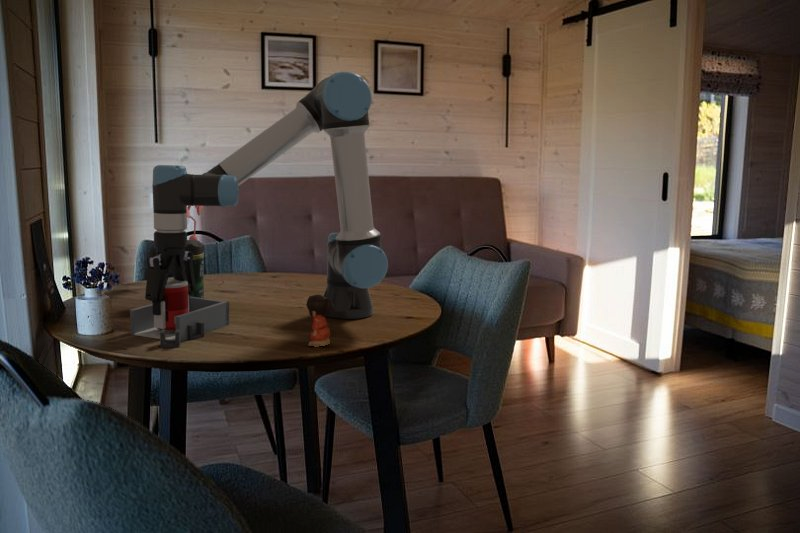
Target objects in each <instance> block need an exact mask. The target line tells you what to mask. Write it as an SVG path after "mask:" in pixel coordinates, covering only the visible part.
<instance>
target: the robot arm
mask: <svg viewBox="0 0 800 533" xmlns="http://www.w3.org/2000/svg"><path fill="white" fill-rule="evenodd" d="M372 98H373V97H372V91H371V88H370V86H369V84H368V82H367V81H366V80H365V78H363V77H362V76H361V75H359V74H357V73H356V72H352V71H340V72H334V73H332V74H331V75H329V76H328V77H326V78H324V79H322V80H321V81H319V82H318V83H317V84H316V86H314V87H313V88H312V89H311V90H310V92H308V93H307V94H306V95H304V97H302V98H301V99H300V100H298V101H296V105H295V108H294V109H292V110H291V111H290V112H288V113H287V114H286V115H284V116H282V117H281V118H280V119H279V120H277V121H276V122H275V123H273V124H272V125H270V126H269V127H267V128H266V129H265V130H263V131H262V132H261V133H259V134H258V135H257V136H255V137H254V138H252V139H251V140H250V141H248V142H246V144H244V145H243V146H241V147H240V148H238V149H237V150H236V151H234V152H233V153H232V154H230V155H229V156H227V157H225V158H224V159H223V160H222V161H220V162H218V163H217V164H216V165H215V166H213V167H212V168H211V169H209V170H208V171H206V172H204V173H202V174H191V173H188V172H187V167H186V166H185V165H176V164H174V165H173V164H157V165H156V166H154V167H153V169H152V209H153V210H152V211H153V230H156V231H154V232H153V245H154V247H155V248H156V249H157V250H156V255H155V256H153V257H151V256H150V257H147V258H146V263H147V264H146V265H147V276H146V287H145V296H144V298H145V300H146V301H147V300H148V301H149V302H150V301H151V302H152V303H151V304H153V315H154V328H161V329H165V328H166V324H165V301H162V300H163V296H164V292H165V285H166V284H167V280H169V275H171V274H172V272H173V275H174V274H175V277H176V280H178V281H187V282H188V312H189V305H190V294H193V293H194V291H192V290H195V289H196V285H195V277H194V269H193V252H188V251H184V247H186V246H187V240H188V233H187V231H186V230H187V229H188V217H187V207H188V206H191V207H195V206H203V207H222V208H225V207H236V206H237V205H238V203H239V198H240V197H239V191H240V190H239V186H241V185H242V184H243V183H245V182H247V180H248V179H250V178H252V177H253V176H254V175H255V174H257V173H258V172H260V171H261V170H262V169H264V168H265V167H268V165H269V164H271V163H273V162H274V161H276V160H277V159H278V158H279V157H280V156H282V155H283V154H285V153H286V152H287V151H289V150H291V149H292V148H293V147H295V146H296V145H297V144H300V142H301V141H303V140H305V138H307V137H308V136H310V135H312V134H313V133H318V134H319V133H320V132H321V131H323V132H325V134H327V135H328V136H329V137H330V138H329V139H330V147H331V155H332V163H333V164H332V165H333V174H334V182H335V190H336V191H335V192H336V198H337V199H336V200H337V208H338V218H339V226H340V231H339V232H331V233H329V235H328V236H327V243H326V246H327V247H326V248H327V249H326V250H327V253H326V255H327V256H326V258H327V259H326V264H327V265H326V287H325V288H324V289H325V290H324V293H323V295H322V296H324V297H326V298H331V300H332V304H333V305H334V310H333V311H332V313H331V314H329V315H325V316H324V317H328V318H334V319H346V320H347V319H349V320H350V319H354V320H355V319H362V318H368V317H370V316H373V314H374V304H373V300H372V296H371V294H370V288H373V287H376V286H377V285H379V284H380V283H381V282H382V280H384V278H385V277H386V275H387V272H388V268H389V261H388V257H387V255H386V253H385V251H384V250H383V248H382V240H381V239H382V238H381V232H380V231H378V230H377V229H376V228H375V226H374V225H375V224H374V217H373V207H372V197H371V196H372V195H371V187H370V179H369V178H370V177H369V167H368V158H367V157H368V156H367V149H366V148H367V147H366V138H365V133H366V131H367V130H368V129H369V128H370V119H369V118H370V117H369V110H370V108H371V105H372ZM189 284H191V285H189ZM157 295H158V296H157Z"/></svg>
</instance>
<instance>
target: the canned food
mask: <svg viewBox="0 0 800 533" xmlns="http://www.w3.org/2000/svg"><path fill="white" fill-rule="evenodd" d="M157 296H158V295H157ZM162 301H165V324H166V328H165V330H166V331H172V330H176V329H175V316H178V315H182V314H185V313H188V282H187V281H178V280H174V279H168V280H167V284H166V285H165V292H164V296H163V300H162ZM157 329H159V330H162V329H161V328H157Z"/></svg>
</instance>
